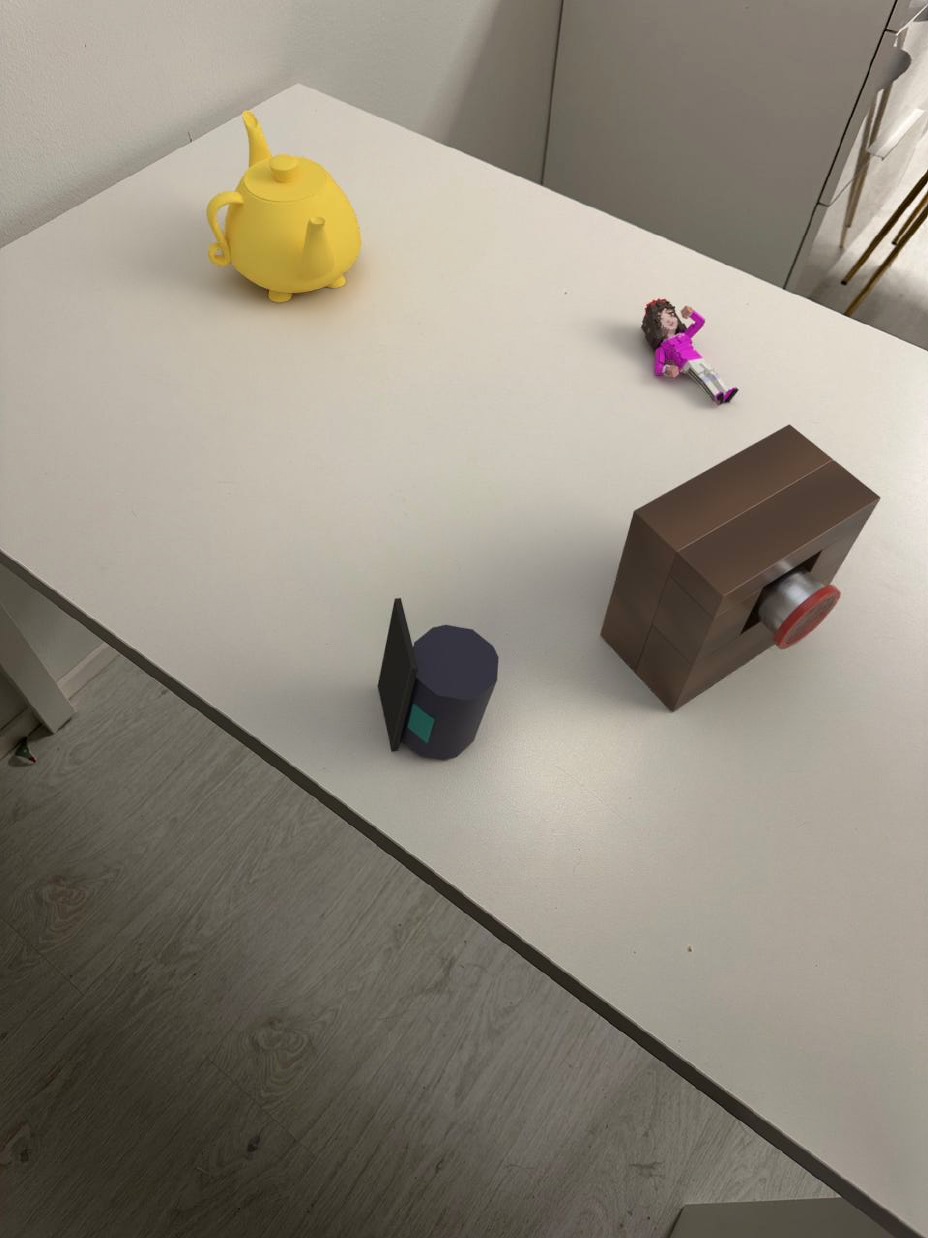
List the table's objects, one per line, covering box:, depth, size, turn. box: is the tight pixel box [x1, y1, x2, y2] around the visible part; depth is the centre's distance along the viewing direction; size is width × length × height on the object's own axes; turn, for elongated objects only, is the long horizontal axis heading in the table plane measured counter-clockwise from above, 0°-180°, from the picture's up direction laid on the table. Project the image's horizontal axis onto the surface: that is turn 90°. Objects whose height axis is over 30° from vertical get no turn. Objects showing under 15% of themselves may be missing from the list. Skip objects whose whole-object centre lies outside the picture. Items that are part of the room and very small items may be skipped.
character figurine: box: [640, 297, 739, 406], centre depth 86 cm, size 6×5×12 cm
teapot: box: [205, 110, 362, 303], centre depth 89 cm, size 20×15×12 cm
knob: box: [751, 564, 842, 650], centre depth 61 cm, size 4×5×5 cm
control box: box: [599, 424, 882, 713], centre depth 65 cm, size 8×14×14 cm, turn 125°
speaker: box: [377, 597, 500, 761], centre depth 61 cm, size 8×6×10 cm
